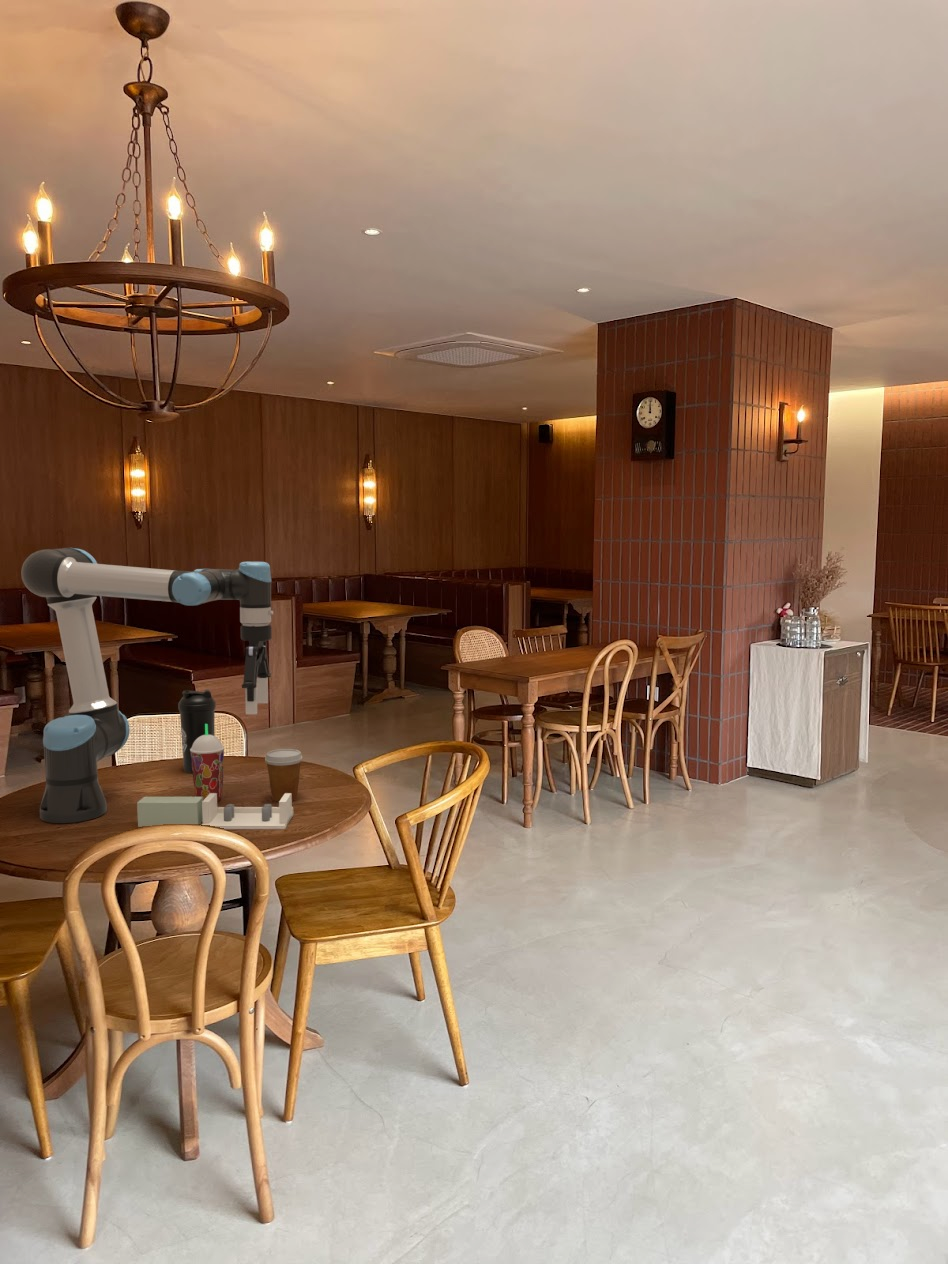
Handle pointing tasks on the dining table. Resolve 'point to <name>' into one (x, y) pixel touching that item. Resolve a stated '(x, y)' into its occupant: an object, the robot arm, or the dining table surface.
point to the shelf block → (169, 810)
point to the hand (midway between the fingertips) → (257, 708)
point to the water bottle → (195, 720)
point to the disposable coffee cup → (283, 772)
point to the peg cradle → (247, 814)
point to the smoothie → (207, 765)
